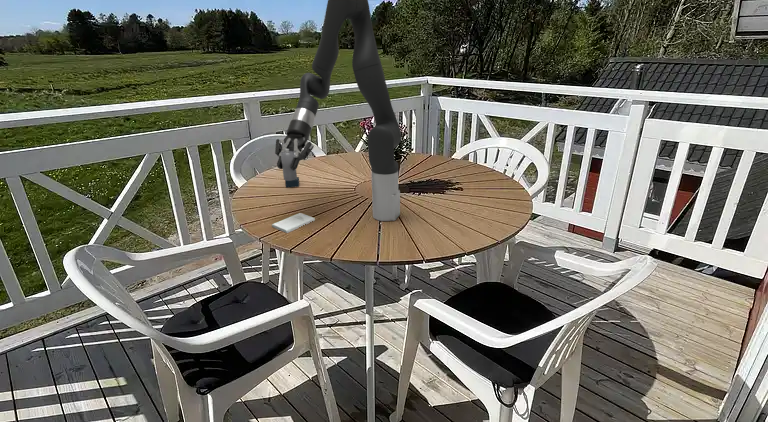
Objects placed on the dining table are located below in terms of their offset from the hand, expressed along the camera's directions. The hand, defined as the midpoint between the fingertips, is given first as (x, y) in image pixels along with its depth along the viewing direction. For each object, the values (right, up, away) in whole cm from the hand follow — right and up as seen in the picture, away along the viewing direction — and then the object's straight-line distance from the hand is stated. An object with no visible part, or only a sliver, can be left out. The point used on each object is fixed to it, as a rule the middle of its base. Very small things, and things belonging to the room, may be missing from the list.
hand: (286, 168), depth 130 cm
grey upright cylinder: (+1, -3, +3) cm, 4 cm away
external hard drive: (+1, -19, +8) cm, 21 cm away
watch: (-8, -3, +44) cm, 45 cm away
